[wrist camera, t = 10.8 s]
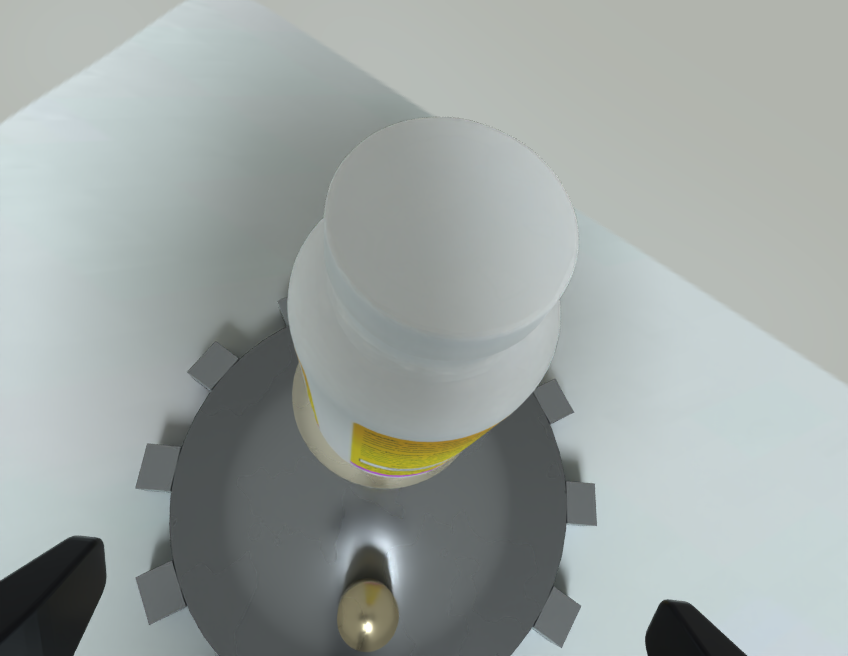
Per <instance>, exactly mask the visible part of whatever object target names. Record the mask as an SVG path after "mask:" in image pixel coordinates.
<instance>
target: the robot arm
mask: <svg viewBox="0 0 848 656" xmlns="http://www.w3.org/2000/svg"><path fill="white" fill-rule="evenodd" d="M105 583H106V565H105V553H104V544H103V541H102V540H101V539H100V538H96V537H87V536H72V537H69V538H67V539H65V540H64V541H62V542H61V543H59V544H58V545H56V546H54V547H53V548H51V549H50V550H48V551H46V552H45V553H43V554H42V555H40V556H38V557H37V558H35V559H34V560H32V561H31V562H29V563H27V564H26V565H24V566H23V567H21V568H19V569H18V570H16V571H15V572H13V573H12V574H10V575H8V576H7V577H5V578H4V579H2V580H0V656H73V655H74V653H75V651H76V649H77V647H78V645H79V643H80V640H81V638H82V636H83V634H84V632H85V630H86V628H87V625H88V623H89V621H90V619H91V617H92V615H93V613H94V610H95V608H96V606H97V604H98V602H99V600H100V598H101V595H102V593H103V590H104V587H105ZM645 644H646V650H647V654H648V656H747V655H746V654H745V653H744V652H743V651H742V650H740V649H739V648H738V647H737V646H736V645H735V644H734V643H733V642H732V641H731V640H730V639H729V638H727V637H726V636H725V635H724V634H723V633H722V632H721V631H720V630H719V629H718V628H717V627H715V626H714V625H713V624H712V623H711V622H710V621H709V620H708V619H707V618H706V617H705V616H704V615H702V614H701V613H700V612H699V611H698V610H697V609H696V608H695V607H694V606H692V605H691V604H690V603H688V602H685V601H677V600H668V599H667V600H663V601H662V602H661V603H660V604H659V606H658V608H657V610H656V612H655V614H654V616H653V619H652V621H651V623H650V625H649V627H648V629H647V631H646V636H645Z"/></svg>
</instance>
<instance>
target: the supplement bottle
mask: <svg viewBox="0 0 848 656" xmlns="http://www.w3.org/2000/svg"><path fill="white" fill-rule="evenodd" d="M578 248H579V233H578V224H577V219H576V215H575V211H574V208H573V206H572V203H571V201H570V198H569V196H568V194H567V192H566V190H565V188H564V187H563V185H562V183H561V182H560V180H559V179H558V177H557V176H556V174H555V173H554V171H553V170H552V169H551V168H550V167H549V166H548V165H547V164H546V163H545V161H544V160H543V159H542V158H541V157H539V156H538V155H537V154H536V153H535V152H534V151H533V150H532V149H530V148H529V147H527V146H526V145H525V144H523V143H522V142H520V141H519V140H517V139H516V138H514V137H511V136H510V135H508V134H506V133H504V132H502V131H499V130H497V129H495V128H492V127H490V126H487V125H484V124H481V123H478V122H475V121H471V120H466V119H460V118H451V117H426V118H418V119H411V120H406V121H402V122H398V123H396V124H393V125H390V126H388V127H385V128H383V129H381V130H379V131H377V132H375V133H373V134H371V135H370V136H369V137H367V138H366V139H365V140H363V141H362V142H361V143H359V144H358V145H357V146H356V147H355V148H354V149H353V150H352V151H351V152H350V153H349V154H348V155H347V156H346V157H345V159H344V160H343V161H342V163H341V164H340V165H339V167H338V169H337V170H336V172H335V174H334V176H333V178H332V181H331V183H330V186H329V189H328V193H327V197H326V201H325V207H324V217H323V218H322V219H321V220H320V221H319V222H318V224H317V225H316V226H315V227H314V229H313V230H312V231H311V232H310V234H309V235H308V237H307V239H306V240H305V242H304V243H303V245H302V247H301V249H300V251H299V253H298V255H297V258H296V260H295V262H294V266H293V269H292V273H291V277H290V282H289V289H288V300H287V307H288V320H289V326H290V332H291V336H292V340H293V344H294V348H295V351H296V354H297V357H298V360H299V363H300V367H301V370H302V374H303V378H304V381H305V385H306V389H307V392H308V396H309V400H310V404H311V408H312V411H313V414H314V417H315V420H316V422H317V425H318V427H319V429H320V431H321V433H322V435H323V436H324V438H325V440H326V441H327V443H328V444H329V445H330V447H331V448H332V449H333V450H334V451H335V452H336V453H337V454H338V455H339V456H340V457H341V458H342V459H344V460H345V461H346V462H348V463H349V464H351V465H352V466H354V467H356V468H358V469H360V470H362V471H364V472H367V473H370V474H373V475H377V476H381V477H388V478H405V477H412V476H417V475H420V474H424V473H427V472H429V471H432V470H434V469H436V468H438V467H440V466H441V465H443V464H444V463H446V462H448V461H449V460H450V459H452V458H453V457H454V456H456V455H457V454H458V453H460V452H461V451H462V450H464V449H465V448H466V447H468V446H469V445H471V444H472V443H473V442H475V441H476V440H477V439H479V438H480V437H481V436H482V435H484V434H485V433H487V432H488V431H489V430H490V429H492V428H493V427H494V426H496V425H497V424H498V423H500V422H501V421H502V420H504V419H505V418H507V417H508V416H509V415H510V414H512V413H513V412H514V411H515V410H516V409H517V408H518V407H519V406H520V405H521V404H522V403H523V402H524V401H525V400H526V399H527V398H528V397H529V396H530V395H531V394H532V392H533V391H534V390H535V389H536V387H537V386H538V384H539V383H540V381H541V380H542V378H543V377H544V375H545V373H546V372H547V370H548V368H549V366H550V364H551V361H552V358H553V356H554V353H555V350H556V346H557V342H558V338H559V332H560V322H561V307H560V297H561V296H562V294H563V293H564V291H565V289H566V288H567V286H568V284H569V282H570V279H571V277H572V274H573V272H574V268H575V265H576V260H577V255H578Z"/></svg>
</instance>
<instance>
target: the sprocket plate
mask: <svg viewBox="0 0 848 656" xmlns="http://www.w3.org/2000/svg"><path fill="white" fill-rule="evenodd" d="M287 300H288V297H287V298H284V299H281V300H278V301H277V302H278V305H279V308H280V312H281V314H282V316H283V319H284V321H285V324H286V326H287V327H285V328H283V329H282V330H280V331H278V332H277V333H275V334H273V335H272V336H270V337H268V338H266V339H265V340H263V341H262V342H261V343H259V344H258V345H257V346H255V347H254V348H253V349H251V350H250V351H249V352H248V353H246V354H245V355H244V356H243V357H242V358H241V359H239V358H238V357H236V356H235V355H234V354H232V353H231V352H230V351H228V350H227V349H225V348H224V347H223V346H221V345H220V344H219V343H217V342H215V343H214V344H213V345H212V346H211V347H210V348H209V349H208V350H207V351H206V352H205V353H204V354H203V356H202V357H201V358H200V359H199V360H198V361H197V362H196V363H195V364H194V365H193V366H192V367H191V368H190V369H189V371H188V372H187V373H188V374H189V375H190V376H191V377H192V378H193V379H194V380H195V381H197V382H198V383H200V384H201V385H202V386H204V387H205V388H206V389H208V390H209V391H210V393H209V395H208V396H207V398H206V400H205V401H204V403H203V405H202V406H201V408H200V410H199V411H198V413H197V414H196V416H195V418H194V420H193V422H192V425H191V427H190V429H189V431H188V433H187V436H186V438H185V440H184V442H183V446H182V447H180V446H169V445H158V444H147V446H146V450H145V454H144V458H143V461H142V465H141V469H140V473H139V477H138V480H137V484H136V489H141V490H146V491H156V492H168V493H171V498H170V522H169V527H170V538H171V549H172V557H173V560H171V561H169V562H167V563H165V564H163V565H161V566H159V567H157V568H155V569H152V570H150V571H148V572H146V573H144V574H142V575H140V576H138V577H136V581H137V584H138V588H139V591H140V595H141V598H142V601H143V605H144V608H145V612H146V615H147V619H148V622H149V625H150V624H153V623H155V622H157V621H159V620H161V619H163V618H165V617H167V616H169V615H171V614H173V613H175V612H177V611H179V610H181V609H183V608H185V607H187V606H188V609H189V611H190V613H191V615H192V616H193V618H194V620H195V622H196V623H197V625H198V627H199V629H200V630H201V632H202V634H203V636H204V637H205V639H206V640H207V641H208V643H209V644H210V645H211V646H212V648H213V649H214V650H215V651H216V653H217V654H218V655H219V656H510V655H511V654H512V653H513V652H514V651H515V649H516V648H517V647H518V646H519V644H520V643H521V642H522V640H523V639H524V638H525V637H526V635H527V634H528V633H529V631H530V630H531V628H532V629H533V630H535V631H536V632H537V633H539V634H540V635H542V636H543V637H544V638H546V639H547V640H548V641H550V642H552V643H553V644H555V645H557V646H559V647H561V648H562V646H563V644H564V642H565V640H566V638H567V635H568V633H569V631H570V629H571V627H572V625H573V623H574V620H575V618H576V616H577V614H578V612H579V610H580V608H581V606H580V605H579V604H578V603H576V602H575V601H574V600H572V599H571V598H569V597H568V596H567V595H565V594H564V593H562V592H561V591H560V590H558V589H557V588H556V587H554V586H553V584H554V581H555V578H556V575H557V571H558V567H559V564H560V560H561V557H562V552H563V545H564V539H565V532H566V525H577V526H597V520H596V500H595V484H593V483H582V482H571V481H565V476H564V471H563V466H562V462H561V457H560V452H559V449H558V446H557V443H556V440H555V437H554V434H553V431H552V428H551V426H550V424H552V423H554V422H556V421H558V420H560V419H562V418H564V417H566V416H568V415H570V414H572V413H574V411H573V410H572V408H571V406H570V404H569V403H568V401H567V399H566V397H565V395H564V394H563V392H562V390H561V388H560V387H559V385H558V383H557V381H556V380H555V379H554V380H552V381H549V382H547V383H545V384H543V385H541V386H539V387H537V388H536V389H535V390H534V391H533V392H532V394H531V395H530V396H529V397H528V398H527V399H526V400H525V401H524V402H523V403H522V404H521V405H520V406H519V407H518V408H517V409H516V410H515V411H514V412H513V413H512V414H510V415H509V416H508V417H507V418H505V419H504V420H502V421H501V422H500V423H498V424H497V425H496V426H494V427H493V428H492V429H490V430H489V431H488V432H487V433H485V434H484V435H482V436H481V437H480V438H479V439H477V440H476V441H475V442H473V443H472V444H471V445H469V446H468V447H466V448H465V449H464V450H462V451H461V452H460V453H458V454H457V455H456V456H454V457H453V458H452V459H450V460H449V461H448V462H446V463H444V464H443V465H441V466H440V467H438V468H436V469H434V470H432V471H429V472H427V473H424V474H420V475H417V476H412V477H405V478H388V477H381V476H377V475H373V474H370V473H367V472H364V471H362V470H360V469H358V468H356V467H354V466H352V465H351V464H349V463H348V462H346V461H345V460H344V459H342V458H341V457H340V456H339V455H338V454H337V453H336V452H335V451H334V450H333V449H332V448H331V447H330V445H329V444H328V443H327V441H326V440H325V438H324V436H323V435H322V433H321V431H320V429H319V427H318V425H317V422H316V420H315V417H314V414H313V411H312V408H311V404H310V400H309V396H308V392H307V389H306V385H305V381H304V378H303V374H302V370H301V367H300V363H299V360H298V357H297V354H296V351H295V348H294V344H293V340H292V336H291V332H290V326H289V320H288V307H287Z"/></svg>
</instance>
